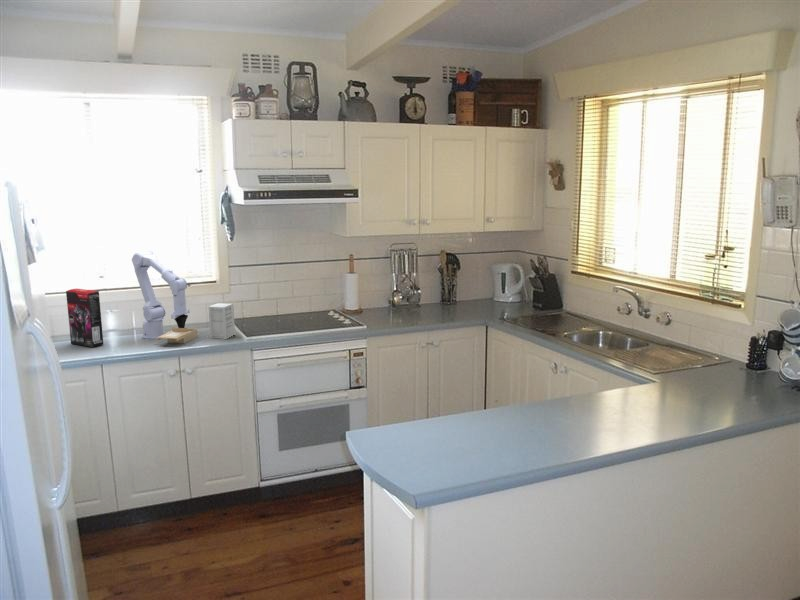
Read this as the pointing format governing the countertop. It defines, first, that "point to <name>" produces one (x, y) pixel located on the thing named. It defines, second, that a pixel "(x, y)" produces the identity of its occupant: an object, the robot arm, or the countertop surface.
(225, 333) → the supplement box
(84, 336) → the graphics card box
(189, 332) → the kraft lid
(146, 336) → the robot arm
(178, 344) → the slate mat
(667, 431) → the countertop surface
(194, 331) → the kraft box
